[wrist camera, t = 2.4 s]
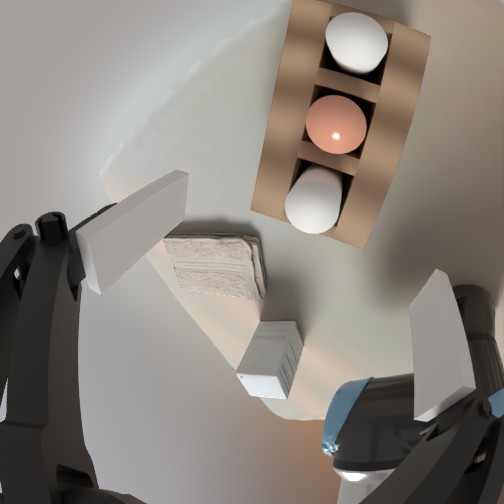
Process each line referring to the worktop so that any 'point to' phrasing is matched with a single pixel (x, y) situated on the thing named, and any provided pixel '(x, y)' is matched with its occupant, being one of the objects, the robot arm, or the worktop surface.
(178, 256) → the washcloth
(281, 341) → the supplement box
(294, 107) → the walnut socket block
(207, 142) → the worktop surface
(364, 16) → the grey plug
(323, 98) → the terracotta plug
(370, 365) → the worktop surface
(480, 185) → the worktop surface
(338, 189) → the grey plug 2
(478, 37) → the worktop surface
